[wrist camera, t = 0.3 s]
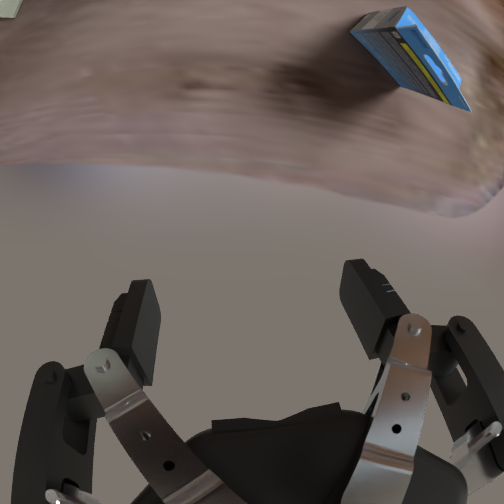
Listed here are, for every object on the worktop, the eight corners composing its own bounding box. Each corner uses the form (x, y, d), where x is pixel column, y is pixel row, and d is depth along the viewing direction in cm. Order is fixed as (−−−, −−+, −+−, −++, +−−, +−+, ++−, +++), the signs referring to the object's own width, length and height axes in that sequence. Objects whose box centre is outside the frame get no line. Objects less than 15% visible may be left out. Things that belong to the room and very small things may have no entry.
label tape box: (417, 68, 24) (493, 87, 14) (398, 89, 26) (471, 114, 16) (367, 12, 20) (438, 0, 10) (345, 33, 22) (411, 26, 12)
